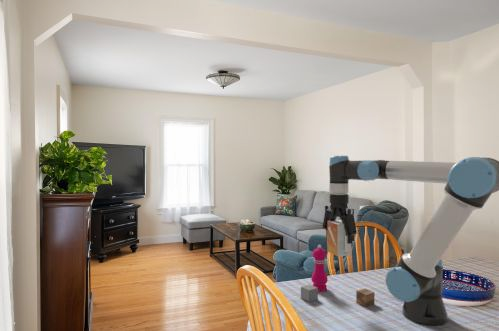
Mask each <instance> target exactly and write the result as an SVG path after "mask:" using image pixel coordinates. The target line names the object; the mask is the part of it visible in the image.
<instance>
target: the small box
mask: <svg viewBox="0 0 499 331" xmlns="http://www.w3.org/2000/svg"><path fill="white" fill-rule="evenodd" d="M345 235H346V231H345V228H344V224H343V223H342V220H341V219H336V220H335V221H327V237H326V238H327V239H326V247H327V248H326V251H327V252H326V253H330V254H331V255H333V256H336V257H337V258H338V257H349V256H352V250H351V251H349V252H345Z"/></svg>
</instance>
